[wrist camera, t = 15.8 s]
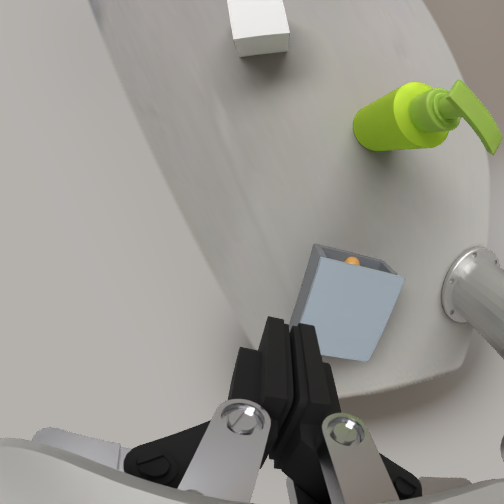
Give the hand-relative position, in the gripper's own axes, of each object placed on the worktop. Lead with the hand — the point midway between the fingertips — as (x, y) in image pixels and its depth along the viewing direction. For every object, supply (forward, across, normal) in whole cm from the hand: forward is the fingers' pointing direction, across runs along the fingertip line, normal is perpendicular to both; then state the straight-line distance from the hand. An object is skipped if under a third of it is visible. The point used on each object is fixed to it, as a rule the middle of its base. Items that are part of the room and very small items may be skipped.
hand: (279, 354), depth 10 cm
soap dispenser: (+27, -10, -14) cm, 32 cm away
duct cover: (+22, -11, +8) cm, 26 cm away
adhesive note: (+27, +7, -23) cm, 36 cm away
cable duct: (+27, -10, +8) cm, 30 cm away
